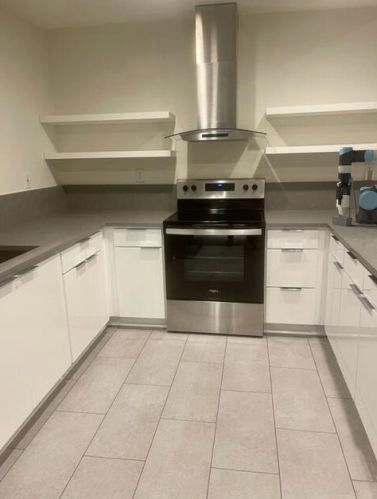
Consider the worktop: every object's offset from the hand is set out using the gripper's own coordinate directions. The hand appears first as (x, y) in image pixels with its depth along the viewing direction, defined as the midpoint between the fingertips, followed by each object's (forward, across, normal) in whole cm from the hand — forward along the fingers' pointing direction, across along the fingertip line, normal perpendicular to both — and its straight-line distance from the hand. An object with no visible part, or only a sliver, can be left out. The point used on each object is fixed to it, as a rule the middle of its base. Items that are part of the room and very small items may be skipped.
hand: (342, 209), depth 243 cm
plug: (+3, 0, 0) cm, 3 cm away
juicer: (+10, -18, -6) cm, 21 cm away
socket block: (+10, 0, 0) cm, 10 cm away
